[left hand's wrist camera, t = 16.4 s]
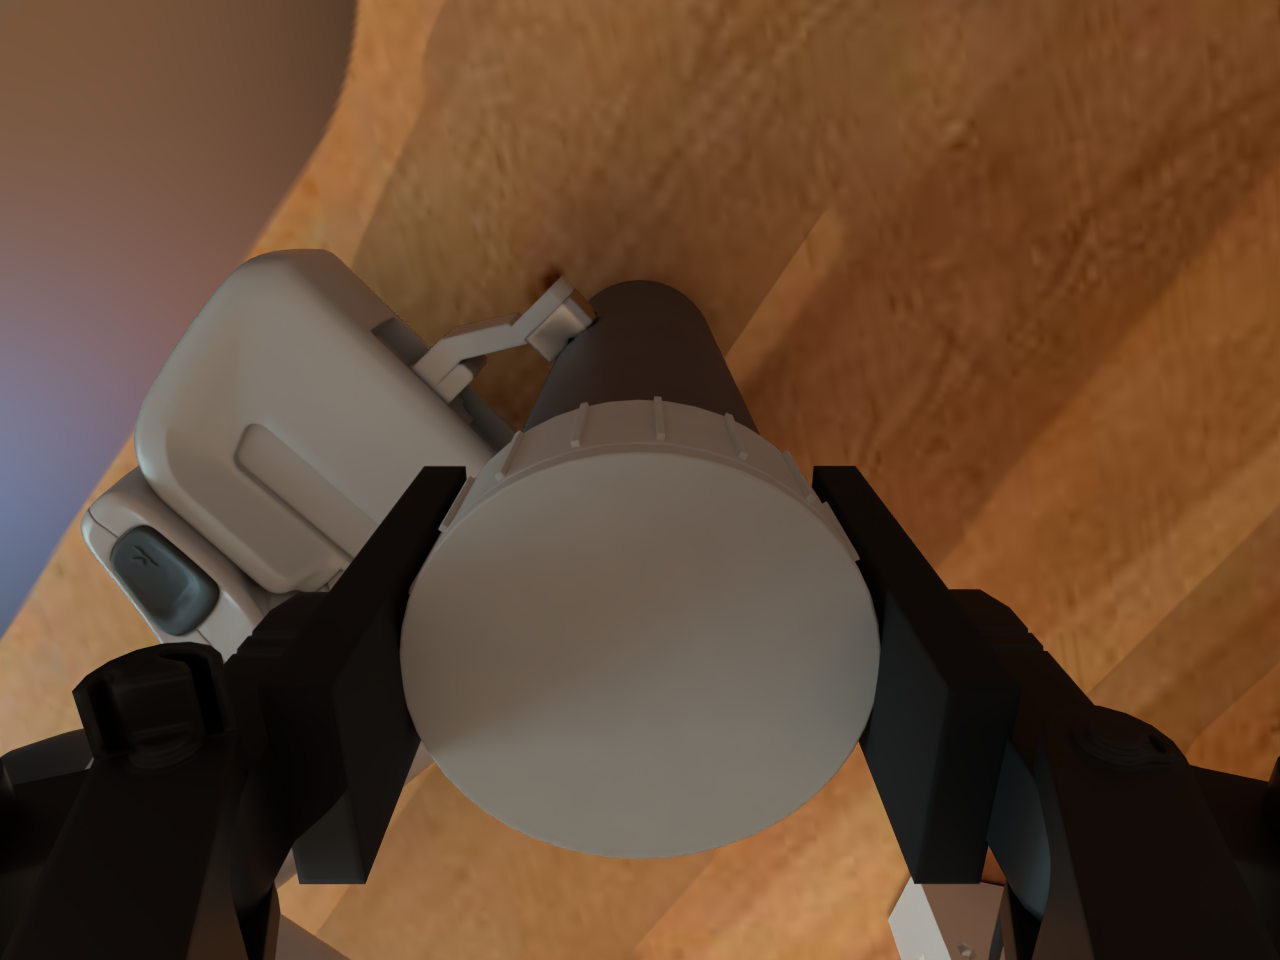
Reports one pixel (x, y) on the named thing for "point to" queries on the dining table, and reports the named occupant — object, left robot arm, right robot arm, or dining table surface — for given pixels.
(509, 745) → the lid
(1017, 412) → the dining table surface
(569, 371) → the dark grey thermos bottle
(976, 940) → the white angled block
